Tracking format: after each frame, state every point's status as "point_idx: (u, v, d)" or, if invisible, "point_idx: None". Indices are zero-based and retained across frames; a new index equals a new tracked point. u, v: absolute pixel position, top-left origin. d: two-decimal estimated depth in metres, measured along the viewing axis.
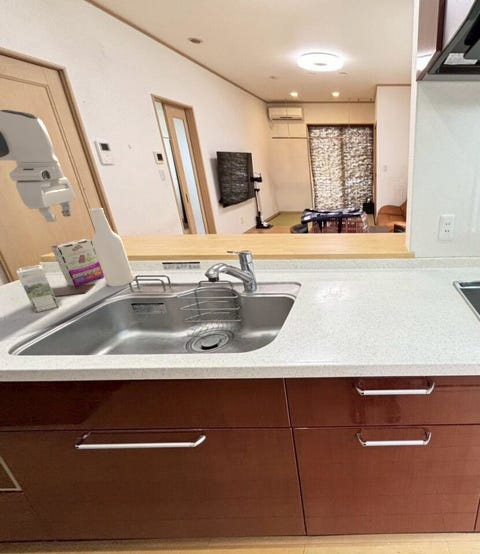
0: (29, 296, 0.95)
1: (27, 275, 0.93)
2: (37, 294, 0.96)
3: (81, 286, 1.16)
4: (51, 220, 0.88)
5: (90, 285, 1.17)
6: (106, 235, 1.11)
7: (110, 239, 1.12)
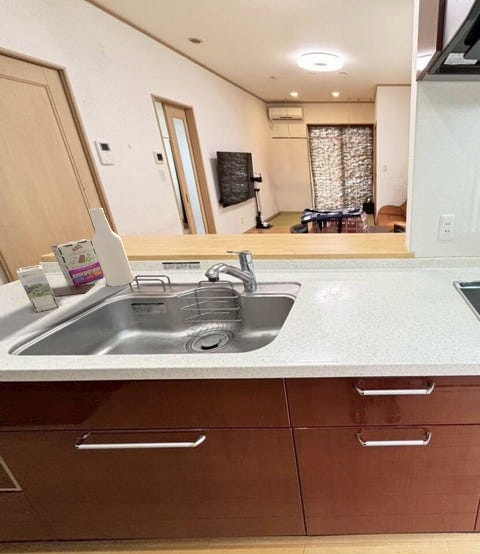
0: (29, 296, 0.95)
1: (27, 275, 0.93)
2: (37, 294, 0.96)
3: (81, 286, 1.16)
4: None
5: (90, 285, 1.17)
6: (106, 235, 1.11)
7: (110, 239, 1.12)
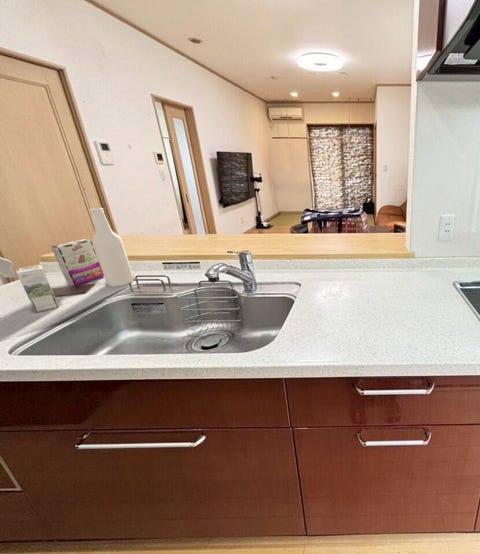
0: (29, 296, 0.95)
1: (27, 275, 0.93)
2: (37, 294, 0.96)
3: (81, 286, 1.16)
4: None
5: (90, 285, 1.17)
6: (106, 235, 1.11)
7: (110, 239, 1.12)
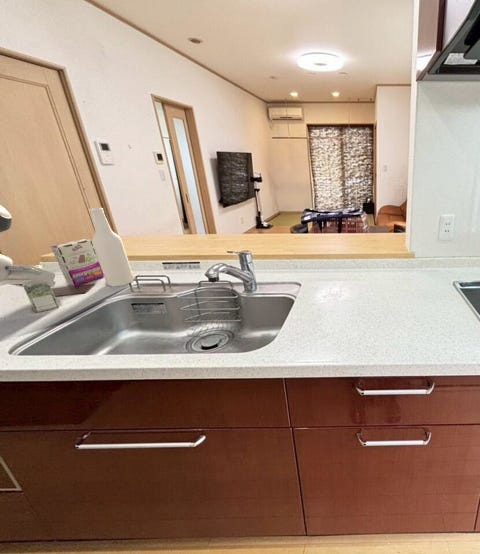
0: (29, 296, 0.95)
1: None
2: (37, 294, 0.96)
3: (81, 286, 1.16)
4: None
5: (90, 285, 1.17)
6: (106, 235, 1.11)
7: (110, 239, 1.12)
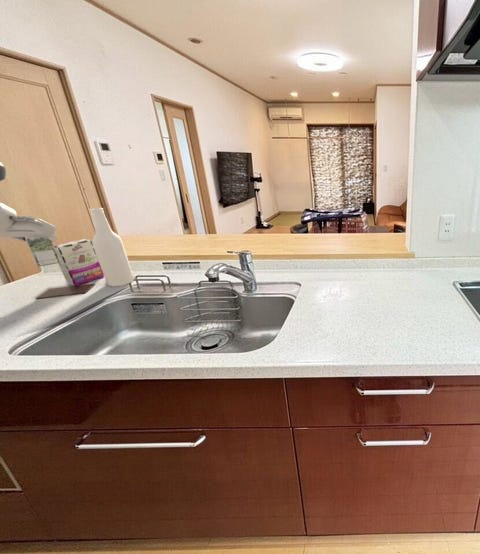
0: (32, 249, 0.99)
1: None
2: (39, 248, 1.00)
3: (81, 286, 1.16)
4: None
5: (90, 285, 1.17)
6: (106, 235, 1.11)
7: (110, 239, 1.12)
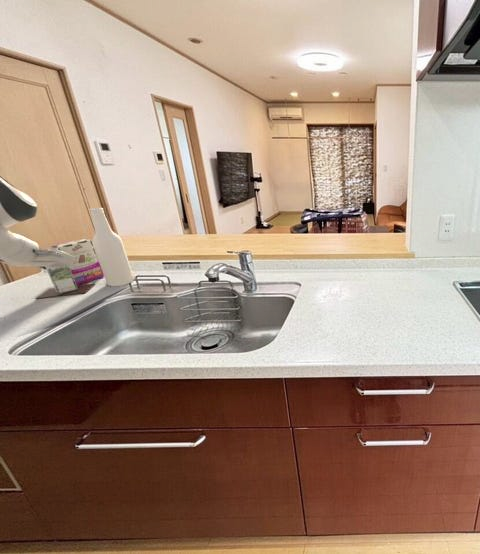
0: (52, 279, 1.07)
1: None
2: (59, 277, 1.08)
3: (81, 286, 1.16)
4: None
5: (90, 285, 1.17)
6: (106, 235, 1.11)
7: (110, 239, 1.12)
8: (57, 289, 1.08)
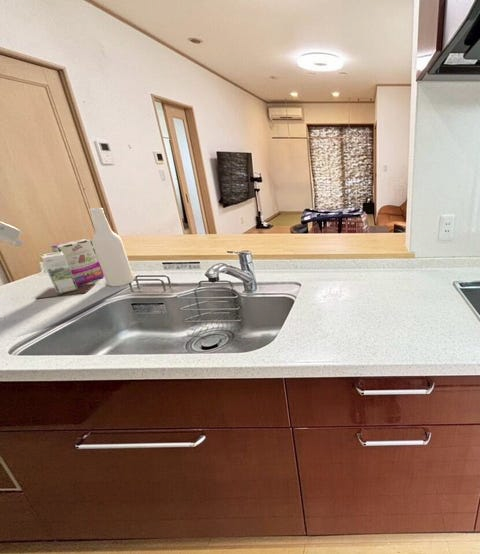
0: (52, 279, 1.07)
1: (51, 259, 1.05)
2: (59, 277, 1.08)
3: (81, 286, 1.16)
4: None
5: (90, 285, 1.17)
6: (106, 235, 1.11)
7: (110, 239, 1.12)
8: (57, 289, 1.08)
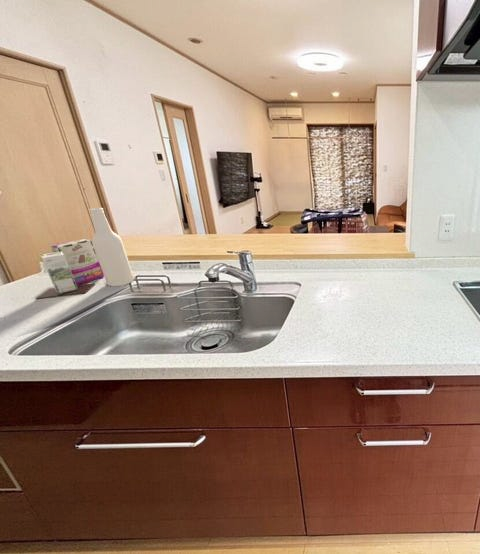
0: (52, 279, 1.07)
1: (51, 259, 1.05)
2: (59, 277, 1.08)
3: (81, 286, 1.16)
4: None
5: (90, 285, 1.17)
6: (106, 235, 1.11)
7: (110, 239, 1.12)
8: (57, 289, 1.08)
